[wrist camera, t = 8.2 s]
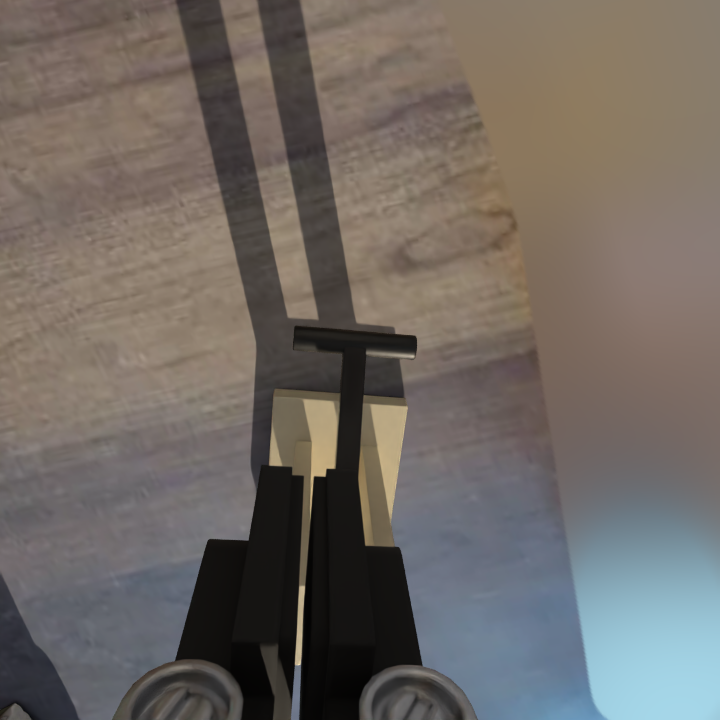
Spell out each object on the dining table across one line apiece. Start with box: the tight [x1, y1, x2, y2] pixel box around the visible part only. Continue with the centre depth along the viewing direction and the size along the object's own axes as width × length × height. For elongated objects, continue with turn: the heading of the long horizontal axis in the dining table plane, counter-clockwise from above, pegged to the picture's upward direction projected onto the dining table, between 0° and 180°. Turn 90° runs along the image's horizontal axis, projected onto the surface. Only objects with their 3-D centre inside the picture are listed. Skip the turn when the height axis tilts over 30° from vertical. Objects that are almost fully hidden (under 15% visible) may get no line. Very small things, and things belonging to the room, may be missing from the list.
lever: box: [293, 326, 417, 476], centre depth 30 cm, size 14×6×2 cm
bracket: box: [269, 389, 408, 665], centre depth 34 cm, size 10×8×14 cm
